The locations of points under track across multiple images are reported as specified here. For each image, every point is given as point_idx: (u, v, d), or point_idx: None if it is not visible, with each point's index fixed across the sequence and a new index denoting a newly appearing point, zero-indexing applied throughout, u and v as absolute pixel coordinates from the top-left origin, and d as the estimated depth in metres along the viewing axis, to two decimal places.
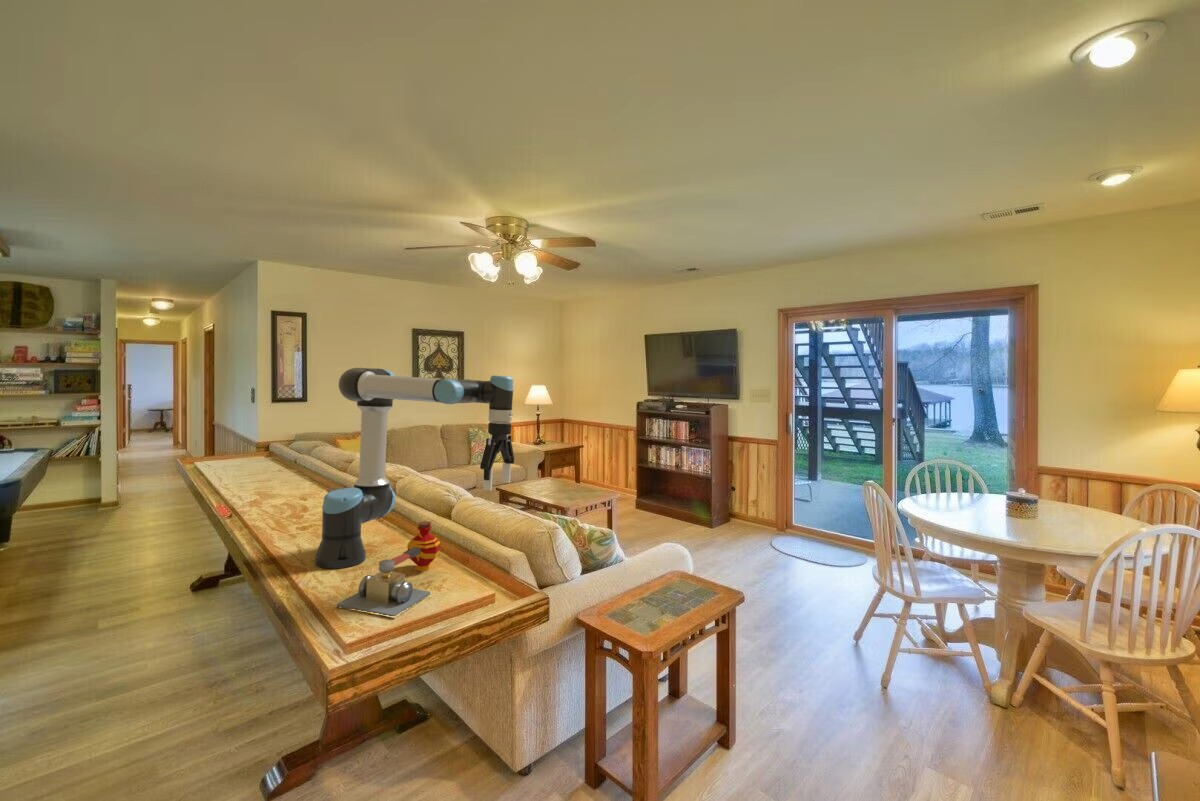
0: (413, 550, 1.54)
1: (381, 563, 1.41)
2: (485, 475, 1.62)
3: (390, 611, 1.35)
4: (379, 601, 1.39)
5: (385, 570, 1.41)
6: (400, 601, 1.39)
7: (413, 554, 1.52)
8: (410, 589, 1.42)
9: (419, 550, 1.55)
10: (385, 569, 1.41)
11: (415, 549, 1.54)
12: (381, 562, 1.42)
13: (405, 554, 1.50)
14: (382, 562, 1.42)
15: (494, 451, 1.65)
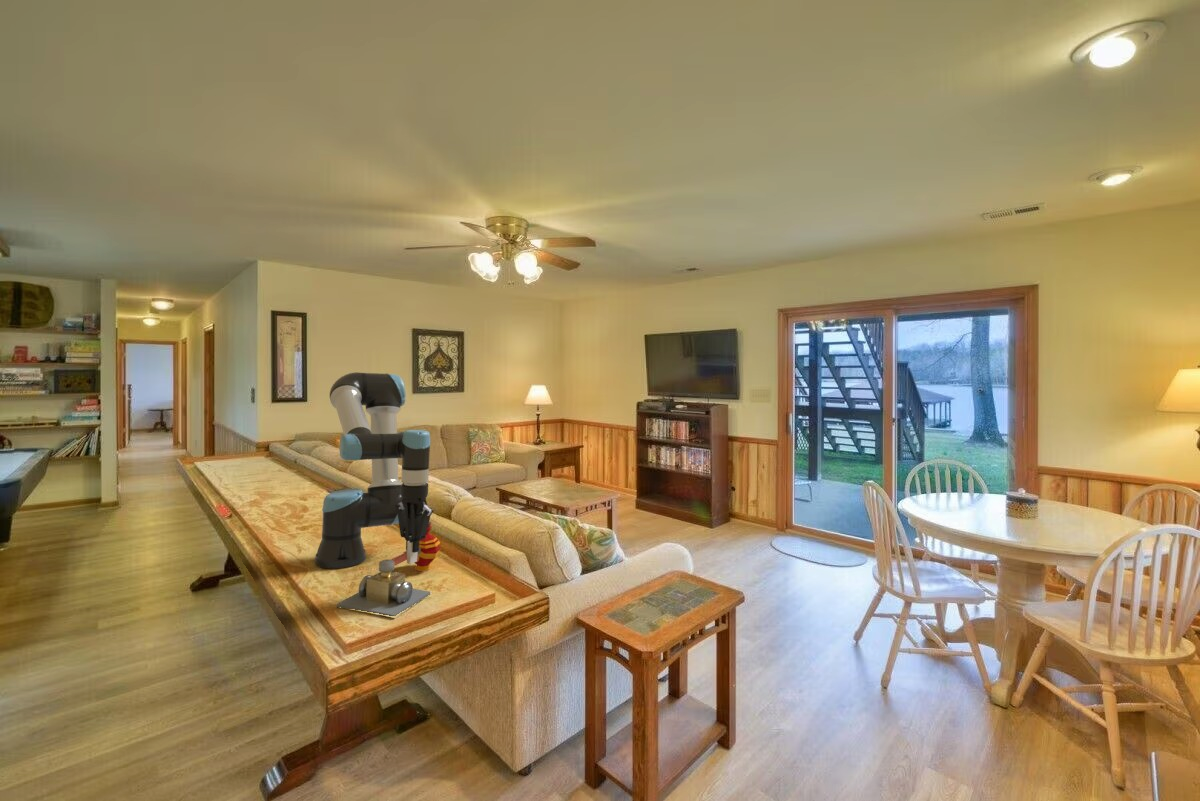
0: None
1: (381, 563, 1.41)
2: (417, 547, 1.50)
3: (390, 611, 1.35)
4: (379, 601, 1.39)
5: (385, 570, 1.41)
6: (400, 601, 1.39)
7: None
8: (410, 589, 1.42)
9: (419, 550, 1.55)
10: (385, 569, 1.41)
11: None
12: (381, 562, 1.42)
13: (405, 554, 1.50)
14: (382, 562, 1.42)
15: (420, 518, 1.50)
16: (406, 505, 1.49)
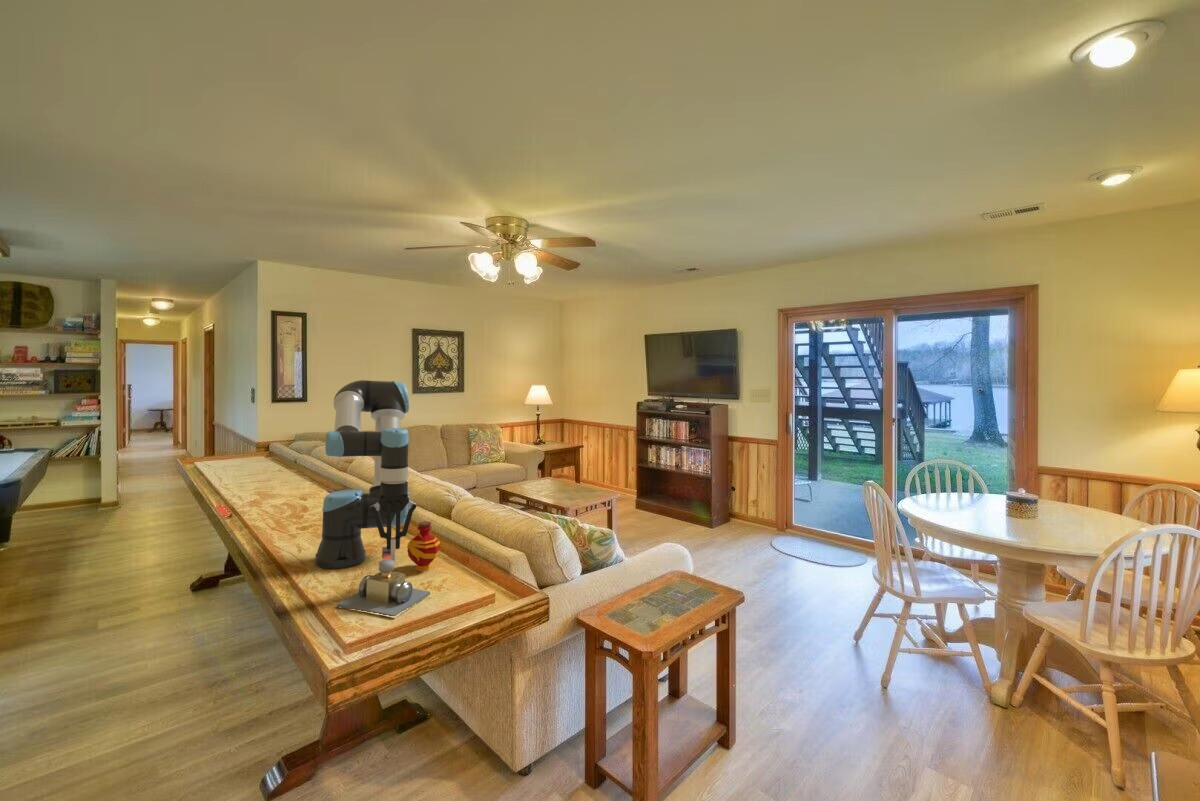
0: None
1: (384, 564, 1.41)
2: (399, 543, 1.52)
3: (390, 611, 1.35)
4: (379, 601, 1.39)
5: (390, 569, 1.41)
6: (400, 601, 1.39)
7: None
8: (410, 589, 1.42)
9: None
10: (390, 568, 1.41)
11: None
12: (382, 563, 1.41)
13: (387, 553, 1.50)
14: (383, 563, 1.41)
15: (400, 515, 1.52)
16: (389, 504, 1.48)
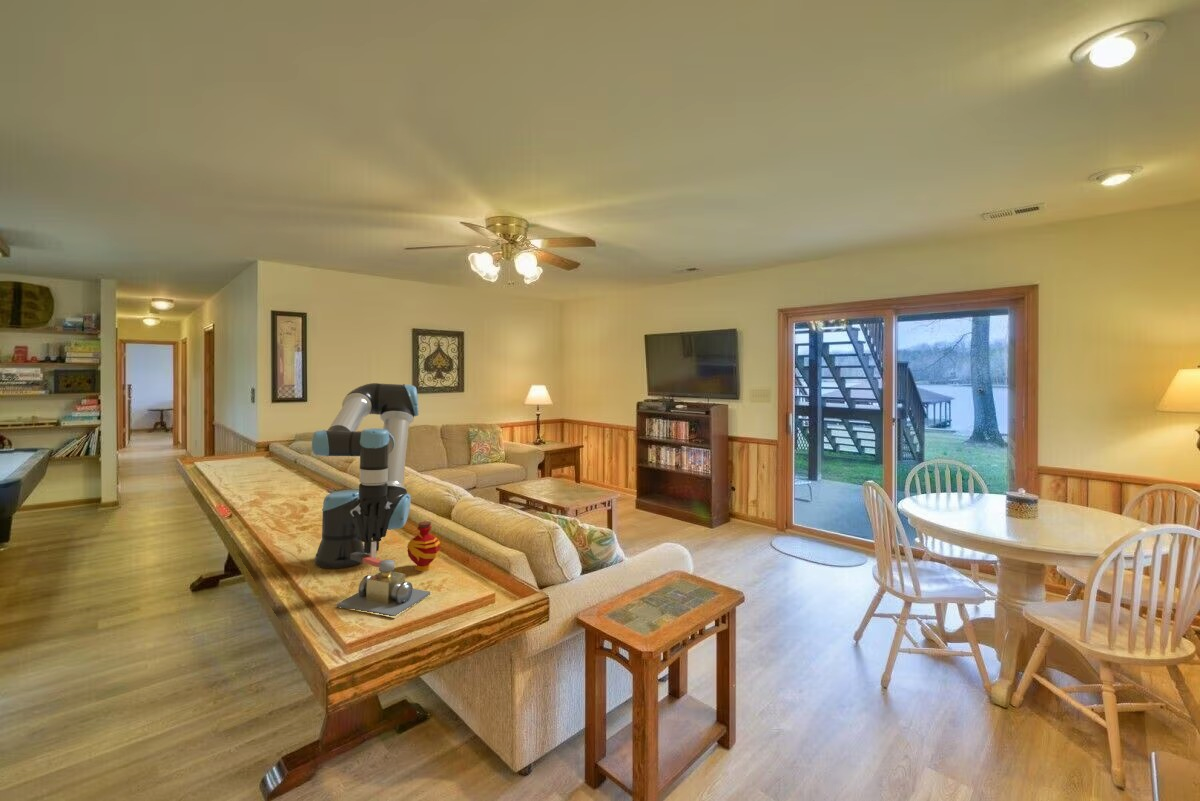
0: (359, 553, 1.48)
1: (388, 564, 1.41)
2: None
3: (390, 611, 1.35)
4: (379, 601, 1.39)
5: (393, 568, 1.43)
6: (400, 601, 1.39)
7: None
8: (410, 589, 1.42)
9: None
10: (393, 567, 1.43)
11: (358, 553, 1.49)
12: (385, 564, 1.41)
13: (367, 557, 1.46)
14: (385, 563, 1.41)
15: None
16: (372, 506, 1.46)
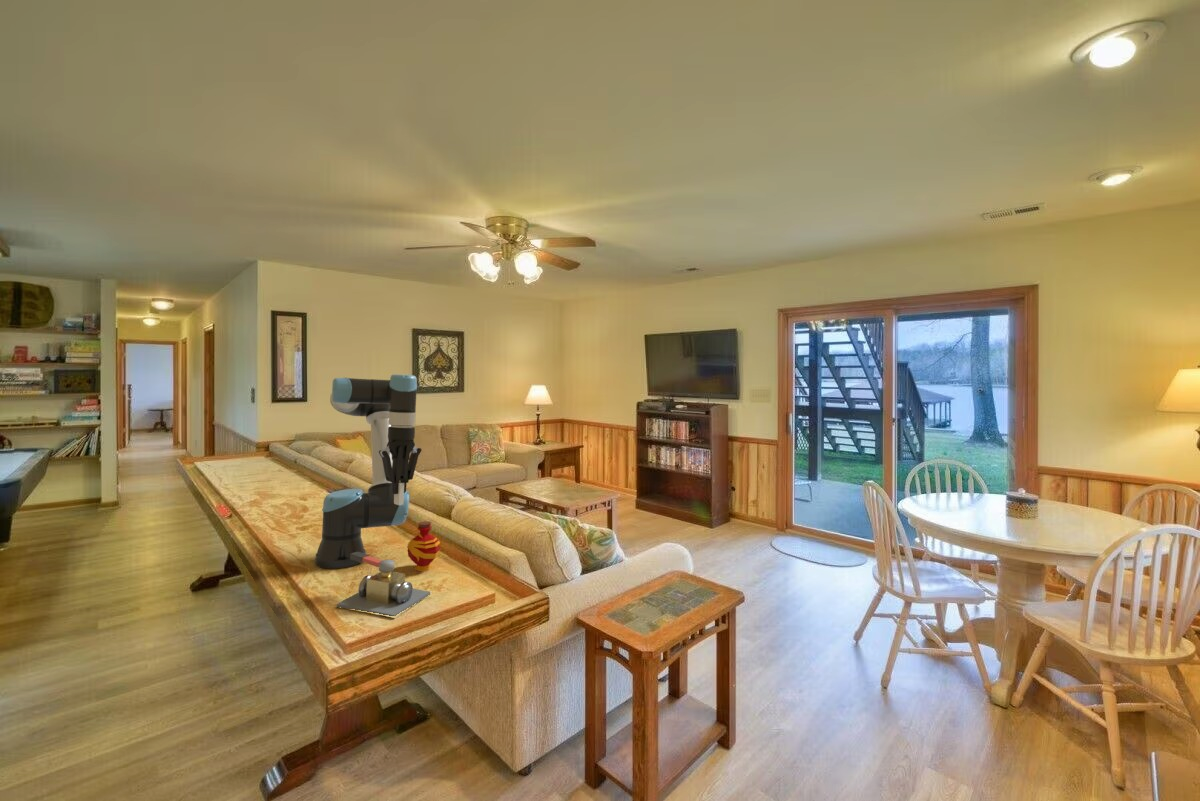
0: (359, 553, 1.48)
1: (388, 564, 1.41)
2: None
3: (390, 611, 1.35)
4: (379, 601, 1.39)
5: (393, 568, 1.43)
6: (400, 601, 1.39)
7: None
8: (410, 589, 1.42)
9: None
10: (393, 567, 1.43)
11: (358, 553, 1.49)
12: (385, 564, 1.41)
13: (367, 557, 1.46)
14: (385, 563, 1.41)
15: None
16: (401, 448, 1.51)
